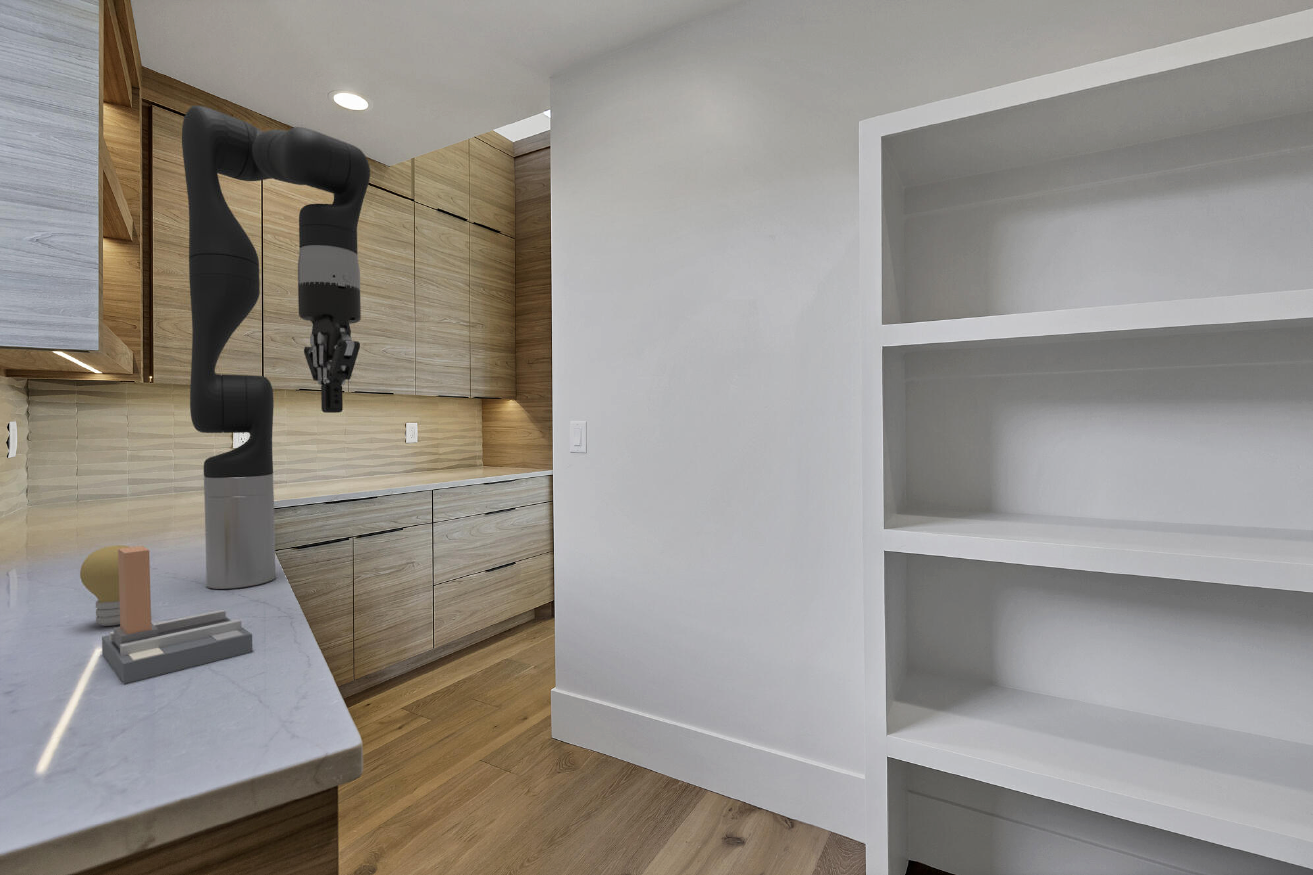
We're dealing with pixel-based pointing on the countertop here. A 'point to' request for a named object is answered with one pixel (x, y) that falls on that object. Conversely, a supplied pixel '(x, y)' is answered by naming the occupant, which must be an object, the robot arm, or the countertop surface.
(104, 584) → the light bulb
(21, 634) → the countertop surface
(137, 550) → the lever
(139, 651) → the switch panel
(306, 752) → the countertop surface
